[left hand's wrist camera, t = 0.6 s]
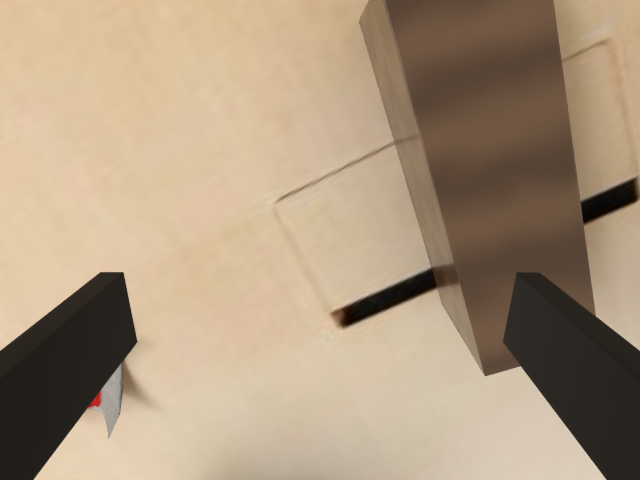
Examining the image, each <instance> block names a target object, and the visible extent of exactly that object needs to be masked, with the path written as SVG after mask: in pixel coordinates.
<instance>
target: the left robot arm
mask: <svg viewBox="0 0 640 480" xmlns="http://www.w3.org/2000/svg"><path fill="white" fill-rule="evenodd" d="M136 343H137V338H136V333H135V328H134V323H133V318H132V313H131V308H130V303H129V298H128V293H127V288H126V283H125V278H124V273H123V272H100V273H99V274H98V275H96V276H95V277H94V278H93V279H91V280H90V281H89V282H88V283H86V284H85V285H84V286H82V287H81V288H80V289H79V290H77V291H76V292H75V293H73V294H72V295H71V296H70V297H68V298H67V299H66V300H65V301H63V302H62V303H61V304H59V305H58V306H57V307H56V308H54V309H53V310H52V311H51V312H49V313H48V314H47V315H45V316H44V317H43V318H42V319H40V320H39V321H38V322H37V323H35V324H34V325H33V326H31V327H30V328H29V329H28V330H26V331H25V332H24V333H23V334H21V335H20V336H19V337H17V338H16V339H15V340H14V341H12V342H11V343H10V344H8V345H7V346H6V347H5V348H3V349H2V350H1V351H0V480H33V479H34V478H35V477H36V476H37V474H38V473H39V472H40V470H41V469H42V468H43V466H44V465H45V464H46V462H47V461H48V460H49V458H50V457H51V456H52V454H53V453H54V452H55V450H56V449H57V448H58V446H59V445H60V444H61V442H62V441H63V440H64V438H65V437H66V436H67V434H68V433H69V432H70V430H71V429H72V428H73V427H74V425H75V424H76V423H77V421H78V420H79V419H80V417H81V416H82V415H83V413H84V412H85V411H86V409H87V408H88V407H89V405H90V404H91V403H92V401H93V400H94V399H95V397H96V396H97V395H98V393H99V392H100V391H101V389H102V388H103V387H104V385H105V384H106V383H107V381H108V380H109V379H110V378H111V376H112V375H113V374H114V372H115V371H116V370H117V368H118V367H119V366H120V364H121V363H122V362H123V360H124V359H125V358H126V356H127V355H128V354H129V352H130V351H131V350H132V348H133V347H134V346H135V344H136ZM503 343H504V344H505V346H506V347H507V348H508V350H509V351H510V352H511V354H512V355H513V356H514V358H515V359H516V360H517V362H518V363H519V364H520V366H521V367H522V368H523V370H524V371H525V372H526V374H527V375H528V376H529V378H530V379H531V380H532V381H533V383H534V384H535V385H536V387H537V388H538V389H539V391H540V392H541V393H542V395H543V396H544V397H545V399H546V400H547V401H548V403H549V404H550V405H551V407H552V408H553V409H554V411H555V412H556V413H557V415H558V416H559V417H560V419H561V420H562V421H563V423H564V424H565V425H566V427H567V428H568V429H569V430H570V432H571V433H572V434H573V436H574V437H575V438H576V440H577V441H578V442H579V444H580V445H581V446H582V448H583V449H584V450H585V452H586V453H587V454H588V456H589V457H590V458H591V460H592V461H593V462H594V464H595V465H596V466H597V468H598V469H599V470H600V472H601V473H602V474H603V476H604V477H605V478H606V479H607V480H640V351H639V350H638V349H637V348H635V347H634V346H633V345H632V344H630V343H629V342H628V341H626V340H625V339H624V338H623V337H621V336H620V335H619V334H617V333H616V332H615V331H614V330H612V329H611V328H610V327H609V326H607V325H606V324H605V323H603V322H602V321H601V320H600V319H598V318H597V317H596V316H595V315H593V314H592V313H591V312H589V311H588V310H587V309H586V308H584V307H583V306H582V305H581V304H579V303H578V302H577V301H575V300H574V299H573V298H572V297H570V296H569V295H568V294H567V293H565V292H564V291H563V290H561V289H560V288H559V287H558V286H556V285H555V284H554V283H552V282H551V281H550V280H549V279H547V278H546V277H545V276H544V275H542V274H541V273H540V272H517V273H516V278H515V283H514V288H513V293H512V298H511V303H510V308H509V313H508V318H507V323H506V328H505V333H504V338H503Z"/></svg>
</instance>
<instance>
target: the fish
mask: <svg viewBox="0 0 640 480" xmlns="http://www.w3.org/2000/svg"><path fill="white" fill-rule="evenodd" d="M122 392H123V374H122V363H121V364H120V366H119V367H118V368H117V370H116V371H115V372H114V374H113V375H112V376H111V378H110V379H109V380H108V381H107V383H106V384H105V385H104V387H103V388H102V389H101V391H100V392H99V393H98V395H97V396H96V397H95V399H94V400H93V401H92V403H91V404H90V405H89V407H88V408H89V409H93V410H96V411H101V412H102V414H103V415H104V418H105V420H106V424H107V430H108V439H109V436H110V434H111V432H112V430H113V428H114V426H115V423H116V421H117V419H118V417H119V415H120V409H121V400H122Z"/></svg>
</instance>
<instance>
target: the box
mask: <svg viewBox="0 0 640 480" xmlns="http://www.w3.org/2000/svg"><path fill="white" fill-rule="evenodd" d="M359 22H360V26H361V29H362V33H363V36H364V39H365V43H366V46H367V50H368V53H369V56H370V60H371V63H372V67H373V70H374V73H375V77H376V80H377V84H378V87H379V90H380V94H381V97H382V101H383V104H384V107H385V111H386V114H387V118H388V121H389V125H390V128H391V131H392V135H393V138H394V142H395V145H396V148H397V152H398V155H399V159H400V162H401V165H402V169H403V172H404V176H405V179H406V182H407V186H408V189H409V193H410V196H411V199H412V203H413V206H414V210H415V213H416V216H417V220H418V223H419V227H420V230H421V233H422V237H423V240H424V244H425V247H426V250H427V254H428V257H429V261H430V264H431V267H432V271H433V274H434V278H435V281H436V284H437V288H438V291H439V295H440V298H441V301H442V305H443V307H444V308H445V310H446V312H447V313H448V315H449V317H450V318H451V320H452V322H453V324H454V325H455V327H456V329H457V330H458V332H459V334H460V335H461V337H462V339H463V340H464V342H465V344H466V345H467V347H468V349H469V350H470V352H471V354H472V355H473V357H474V359H475V360H476V362H477V364H478V365H479V367H480V369H481V370H482V372H483V374H484V375H485V376H488V375H491V374H495V373H498V372H502V371H506V370H509V369H513V368H516V367H520V364H519V363H518V362H517V360H516V359H515V358H514V356H513V355H512V354H511V352H510V351H509V350H508V348H507V347H506V346H505V344H504V343H503V338H504V333H505V328H506V323H507V318H508V313H509V308H510V303H511V298H512V293H513V288H514V283H515V278H516V273H517V272H540V273H541V274H542V275H544V276H545V277H546V278H547V279H549V280H550V281H551V282H552V283H554V284H555V285H556V286H558V287H559V288H560V289H561V290H563V291H564V292H565V293H567V294H568V295H569V296H570V297H572V298H573V299H574V300H575V301H577V302H578V303H579V304H581V305H582V306H583V307H584V308H586V309H587V310H588V311H589V312H591V313H592V314H593V315H595V307H594V300H593V292H592V285H591V277H590V270H589V263H588V255H587V248H586V240H585V233H584V225H583V218H582V211H581V203H580V196H579V188H578V181H577V173H576V166H575V159H574V151H573V144H572V136H571V129H570V121H569V114H568V107H567V99H566V92H565V84H564V77H563V69H562V62H561V55H560V47H559V40H558V32H557V25H556V18H555V10H554V3H553V0H369V1H368V3H367V5H366V7H365V9H364V11H363V13H362V15H361V17H360V20H359ZM595 316H596V315H595Z"/></svg>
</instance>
